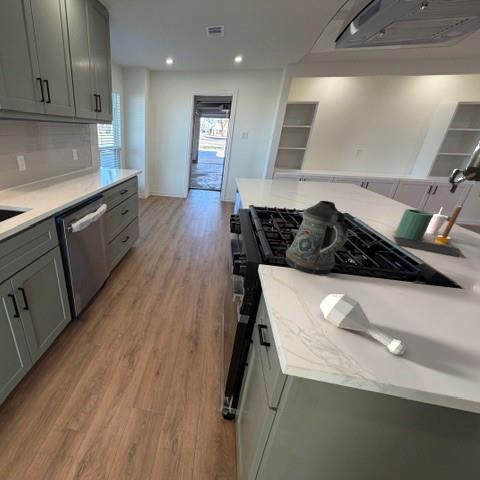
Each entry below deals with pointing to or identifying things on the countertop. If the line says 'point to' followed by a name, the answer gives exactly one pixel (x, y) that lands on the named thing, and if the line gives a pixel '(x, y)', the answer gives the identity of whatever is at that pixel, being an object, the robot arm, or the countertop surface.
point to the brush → (448, 228)
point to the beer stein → (318, 239)
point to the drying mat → (426, 246)
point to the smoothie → (436, 222)
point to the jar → (414, 224)
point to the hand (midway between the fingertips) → (465, 194)
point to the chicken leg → (355, 320)
